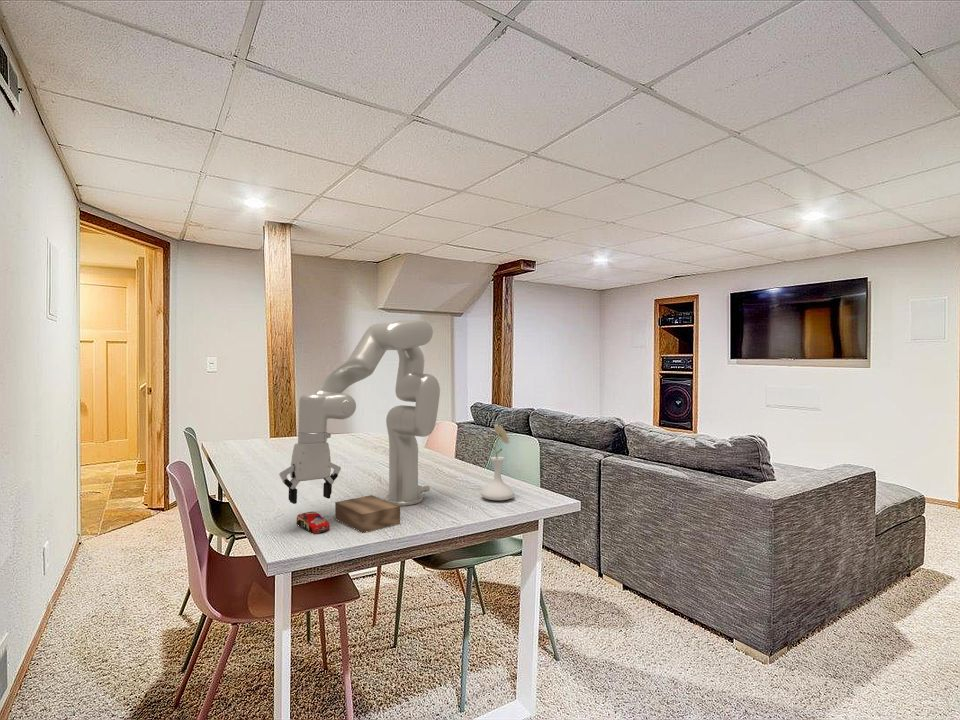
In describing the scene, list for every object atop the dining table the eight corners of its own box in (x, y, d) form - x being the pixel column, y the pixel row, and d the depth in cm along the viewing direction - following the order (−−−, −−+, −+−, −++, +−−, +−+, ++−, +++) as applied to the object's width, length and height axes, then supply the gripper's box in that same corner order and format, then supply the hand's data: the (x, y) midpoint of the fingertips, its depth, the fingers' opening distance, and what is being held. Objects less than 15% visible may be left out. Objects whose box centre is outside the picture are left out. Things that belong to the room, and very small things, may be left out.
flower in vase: (515, 503, 167) (515, 427, 167) (480, 503, 167) (481, 426, 167) (512, 493, 180) (513, 422, 180) (480, 493, 180) (480, 422, 180)
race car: (332, 532, 139) (332, 517, 139) (313, 536, 135) (313, 521, 135) (312, 520, 149) (312, 507, 149) (294, 524, 145) (294, 510, 145)
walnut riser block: (371, 511, 157) (371, 495, 157) (400, 523, 145) (400, 506, 145) (335, 519, 149) (335, 502, 149) (362, 532, 137) (362, 514, 137)
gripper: (335, 435, 151) (333, 493, 150) (275, 439, 139) (273, 502, 139) (347, 437, 145) (345, 498, 145) (286, 442, 134) (284, 508, 133)
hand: (310, 500), depth 142 cm, fingers open, 9 cm apart
